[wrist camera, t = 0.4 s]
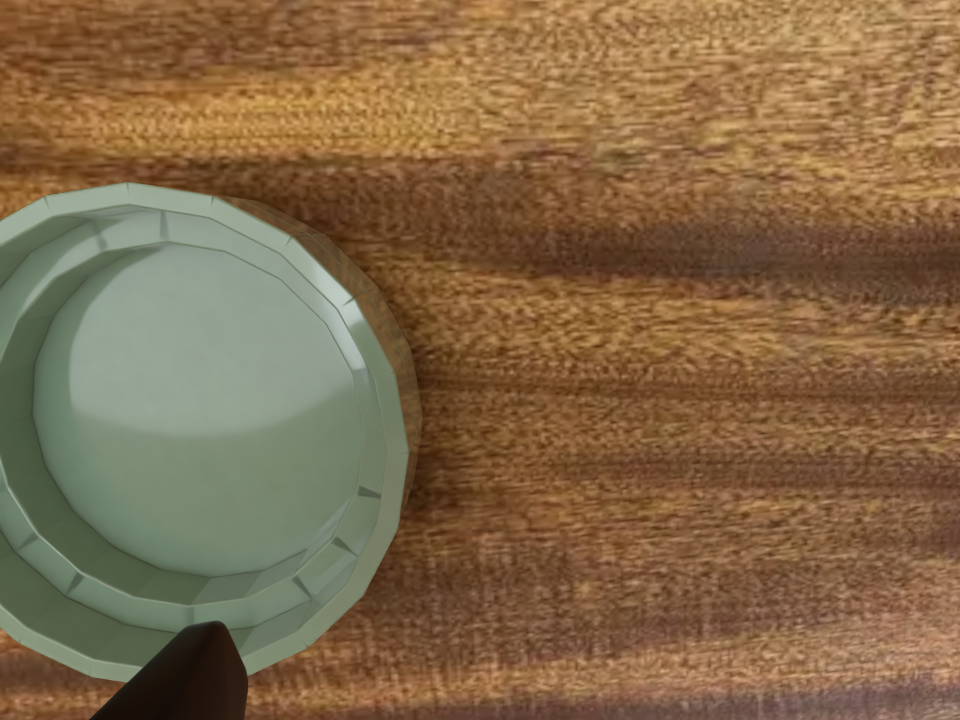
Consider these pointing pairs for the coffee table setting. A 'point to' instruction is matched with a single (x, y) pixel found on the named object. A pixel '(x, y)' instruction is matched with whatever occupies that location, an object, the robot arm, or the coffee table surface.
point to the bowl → (191, 426)
